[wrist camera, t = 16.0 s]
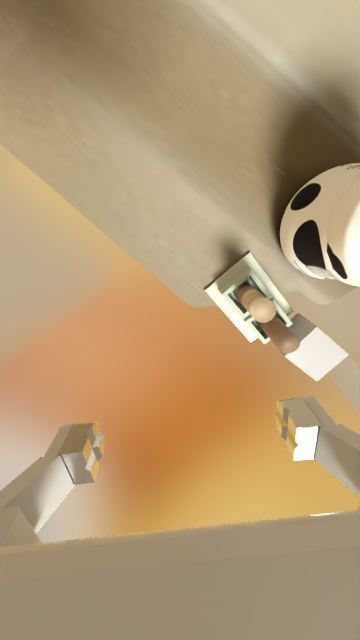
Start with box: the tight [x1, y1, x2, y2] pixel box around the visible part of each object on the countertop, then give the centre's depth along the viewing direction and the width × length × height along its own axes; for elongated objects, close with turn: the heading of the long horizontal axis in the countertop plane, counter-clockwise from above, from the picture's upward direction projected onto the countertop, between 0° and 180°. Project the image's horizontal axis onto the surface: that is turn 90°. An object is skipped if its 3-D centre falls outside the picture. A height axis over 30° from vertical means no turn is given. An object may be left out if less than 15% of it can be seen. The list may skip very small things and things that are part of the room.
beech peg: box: [233, 282, 276, 323], centre depth 41 cm, size 4×4×12 cm
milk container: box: [280, 163, 360, 287], centre depth 34 cm, size 17×17×18 cm
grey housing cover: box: [271, 313, 348, 381], centre depth 48 cm, size 10×8×7 cm
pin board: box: [205, 252, 300, 354], centre depth 42 cm, size 16×11×13 cm
